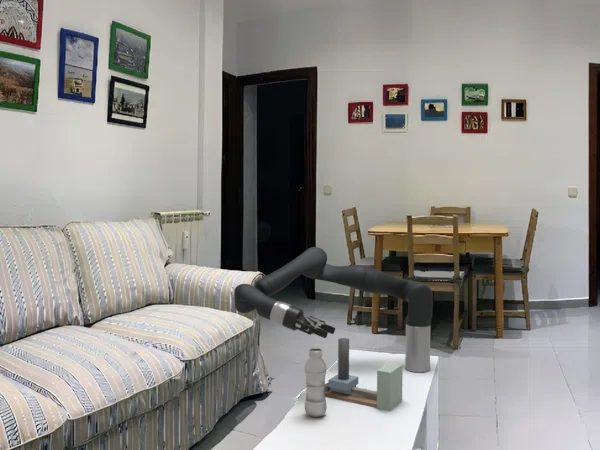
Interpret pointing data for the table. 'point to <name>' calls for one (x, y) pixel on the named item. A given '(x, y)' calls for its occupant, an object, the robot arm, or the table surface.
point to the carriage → (343, 370)
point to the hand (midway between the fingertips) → (330, 333)
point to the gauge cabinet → (389, 386)
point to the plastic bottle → (315, 384)
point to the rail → (354, 396)
